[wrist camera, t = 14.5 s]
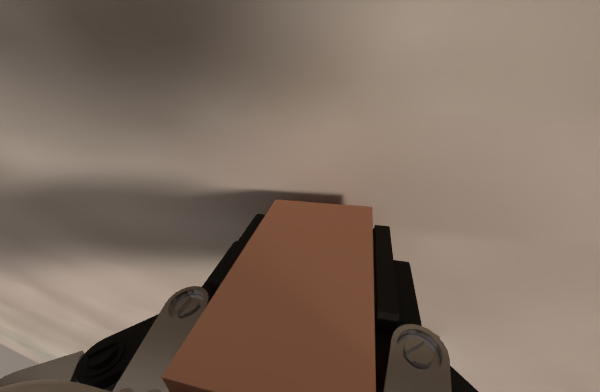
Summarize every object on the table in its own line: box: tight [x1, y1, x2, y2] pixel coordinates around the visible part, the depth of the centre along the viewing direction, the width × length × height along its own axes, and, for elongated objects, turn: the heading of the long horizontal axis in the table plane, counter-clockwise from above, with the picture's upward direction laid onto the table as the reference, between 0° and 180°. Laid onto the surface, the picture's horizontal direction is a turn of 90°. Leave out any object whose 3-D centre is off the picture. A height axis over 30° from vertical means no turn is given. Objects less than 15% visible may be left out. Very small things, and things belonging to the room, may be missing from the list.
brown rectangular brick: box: [161, 199, 376, 392], centre depth 8 cm, size 4×4×7 cm
